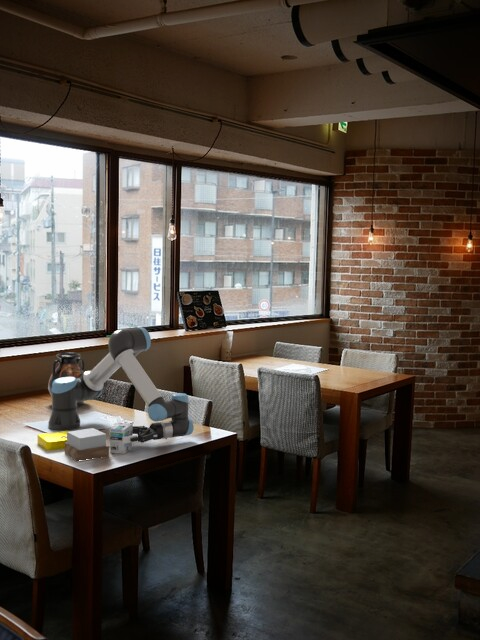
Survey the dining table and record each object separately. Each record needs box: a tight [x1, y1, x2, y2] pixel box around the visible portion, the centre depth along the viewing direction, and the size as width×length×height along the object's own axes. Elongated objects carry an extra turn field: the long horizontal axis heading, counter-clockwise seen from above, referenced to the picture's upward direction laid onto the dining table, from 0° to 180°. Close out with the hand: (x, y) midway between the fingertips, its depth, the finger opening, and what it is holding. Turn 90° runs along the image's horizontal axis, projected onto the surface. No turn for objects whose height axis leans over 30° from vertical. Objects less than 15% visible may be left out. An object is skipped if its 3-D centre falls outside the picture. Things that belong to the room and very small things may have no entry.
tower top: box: [67, 427, 107, 450], centre depth 304 cm, size 12×12×5 cm
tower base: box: [64, 443, 110, 462], centre depth 305 cm, size 14×14×5 cm
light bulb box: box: [109, 422, 134, 455], centre depth 313 cm, size 11×7×11 cm, turn 169°
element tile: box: [37, 430, 70, 452], centre depth 319 cm, size 15×15×5 cm
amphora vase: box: [47, 352, 85, 407], centre depth 396 cm, size 22×22×28 cm
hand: (116, 436), depth 311 cm, fingers open, 13 cm apart
